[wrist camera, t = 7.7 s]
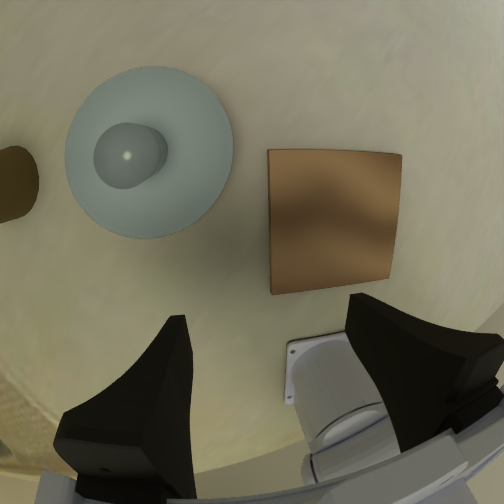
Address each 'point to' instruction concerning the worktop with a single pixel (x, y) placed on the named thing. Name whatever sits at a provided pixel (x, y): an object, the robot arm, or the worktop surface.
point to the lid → (149, 152)
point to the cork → (17, 183)
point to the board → (331, 217)
